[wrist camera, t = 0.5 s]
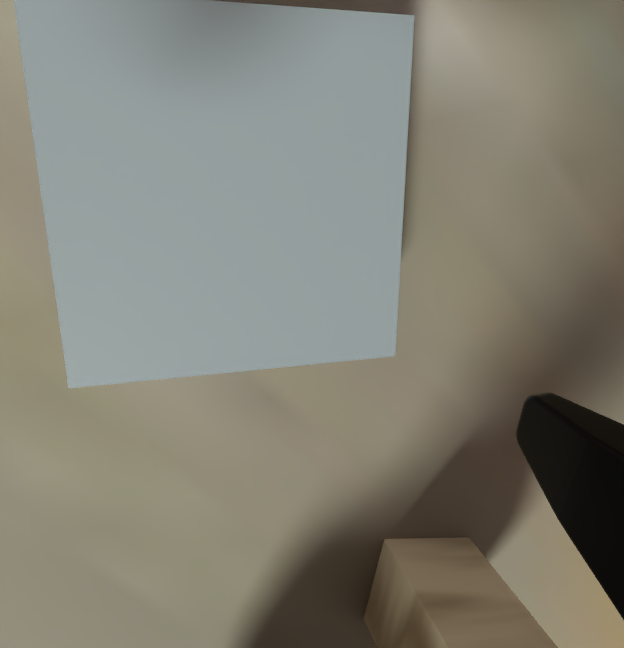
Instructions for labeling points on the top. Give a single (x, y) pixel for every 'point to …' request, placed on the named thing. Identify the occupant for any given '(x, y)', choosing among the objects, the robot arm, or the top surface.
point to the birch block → (445, 599)
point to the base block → (218, 182)
